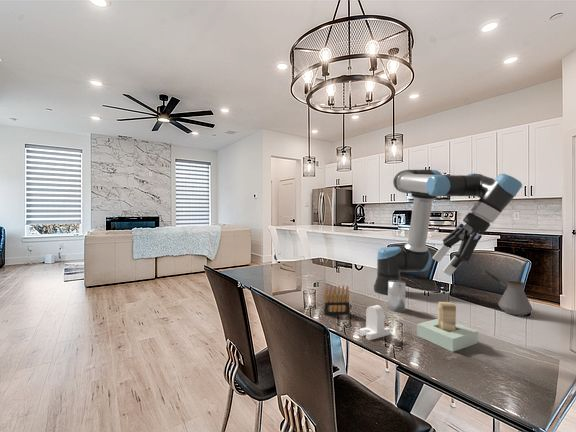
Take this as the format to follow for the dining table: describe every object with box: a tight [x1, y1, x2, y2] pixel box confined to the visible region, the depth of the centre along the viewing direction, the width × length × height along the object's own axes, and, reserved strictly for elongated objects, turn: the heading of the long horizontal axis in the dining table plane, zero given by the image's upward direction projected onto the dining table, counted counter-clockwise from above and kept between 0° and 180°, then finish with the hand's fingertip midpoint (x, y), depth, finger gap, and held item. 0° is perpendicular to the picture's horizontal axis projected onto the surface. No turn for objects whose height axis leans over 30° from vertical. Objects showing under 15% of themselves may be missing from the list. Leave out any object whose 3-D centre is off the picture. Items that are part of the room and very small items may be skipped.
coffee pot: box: [483, 269, 533, 317], centre depth 128 cm, size 21×12×15 cm, turn 11°
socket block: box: [416, 318, 479, 353], centre depth 98 cm, size 13×13×4 cm
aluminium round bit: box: [387, 280, 406, 313], centre depth 128 cm, size 7×7×12 cm
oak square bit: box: [438, 301, 457, 332], centre depth 98 cm, size 4×4×12 cm
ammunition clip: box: [323, 284, 351, 316], centre depth 122 cm, size 11×2×12 cm, turn 93°
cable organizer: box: [358, 304, 391, 341], centre depth 102 cm, size 5×10×10 cm, turn 119°
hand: (440, 266), depth 104 cm, fingers open, 13 cm apart
